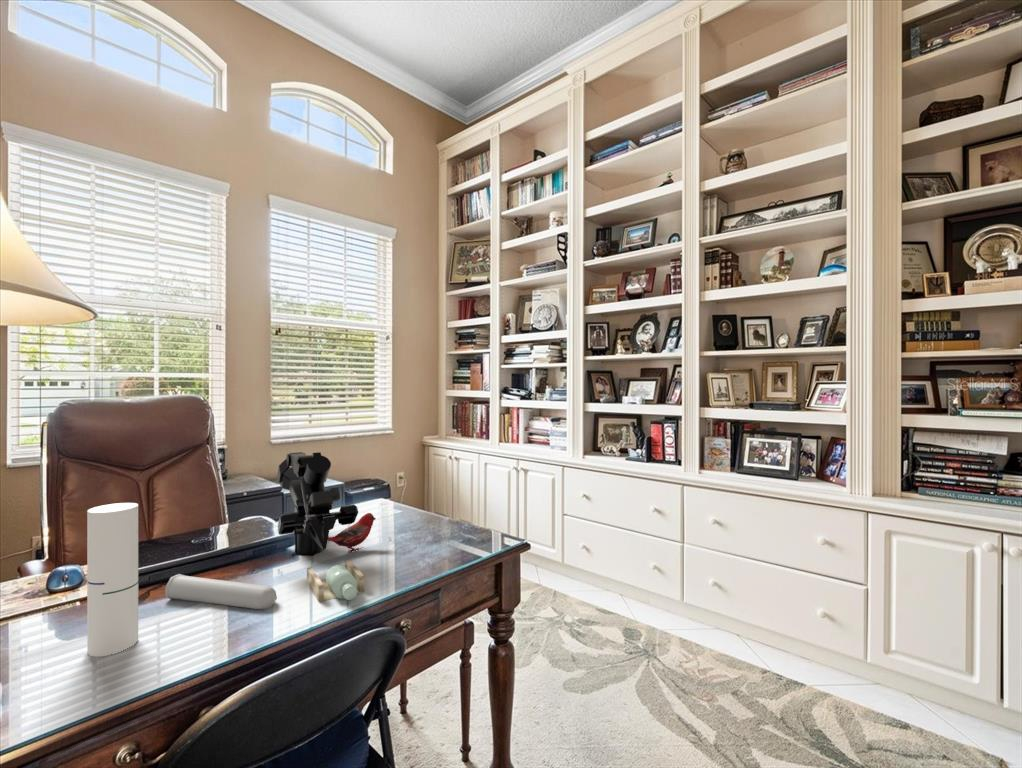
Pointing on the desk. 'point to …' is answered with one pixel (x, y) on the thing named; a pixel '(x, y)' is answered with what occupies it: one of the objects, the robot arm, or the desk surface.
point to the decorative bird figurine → (354, 533)
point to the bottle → (341, 582)
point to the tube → (220, 592)
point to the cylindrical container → (112, 578)
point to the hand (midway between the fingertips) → (324, 549)
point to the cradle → (323, 589)
